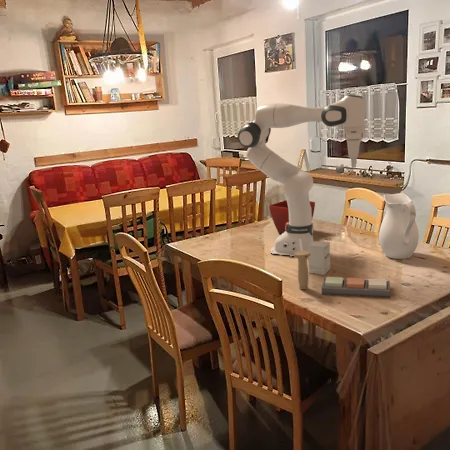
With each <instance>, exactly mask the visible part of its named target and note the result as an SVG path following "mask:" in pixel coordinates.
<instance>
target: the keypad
mask: <svg viewBox="0 0 450 450" xmlns="http://www.w3.org/2000/svg"><path fill="white" fill-rule="evenodd" d="M326 278H327V277H325V278H324V279H323V280H322V281H323V282H322V285H321V288H320V289H321V291H320V292H321V295H325V294H330V296H344V295H346V297H347V296H348V297H367V298H381V299H382V298H386V299H387V298H388V299H390V297H391V287H390V286H391V285H390V283H391V282H390V280H386V284H387V289H368V284H369V279H364V288H346V283H347V278H343V287H325V281H326Z"/></svg>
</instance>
